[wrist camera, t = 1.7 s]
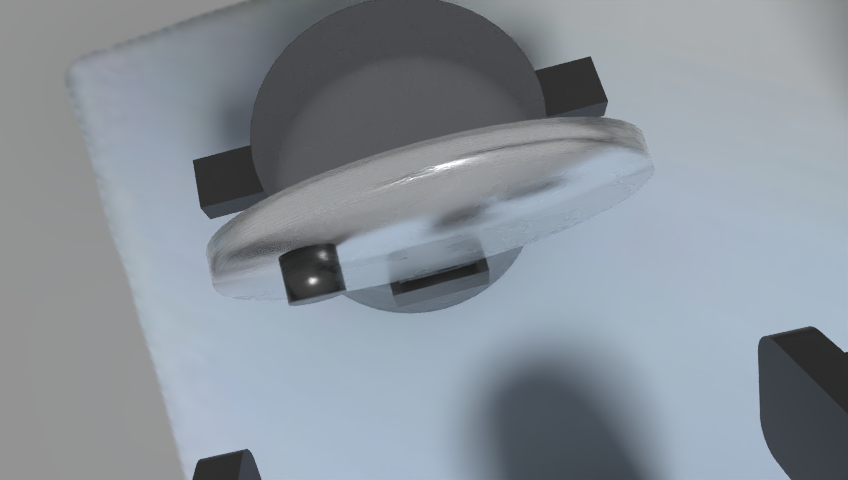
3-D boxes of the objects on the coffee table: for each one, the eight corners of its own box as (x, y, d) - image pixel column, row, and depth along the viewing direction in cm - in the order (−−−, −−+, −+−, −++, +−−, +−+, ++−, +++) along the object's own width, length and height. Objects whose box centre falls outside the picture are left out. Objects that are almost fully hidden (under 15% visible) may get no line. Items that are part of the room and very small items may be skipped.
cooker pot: (630, 282, 49) (663, 221, 40) (267, 378, 49) (215, 340, 39) (545, 51, 55) (556, -48, 46) (223, 135, 55) (169, 52, 46)
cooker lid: (594, 205, 40) (612, 260, 40) (268, 292, 40) (280, 348, 39) (705, 63, 23) (738, 156, 22) (128, 214, 23) (148, 313, 22)
